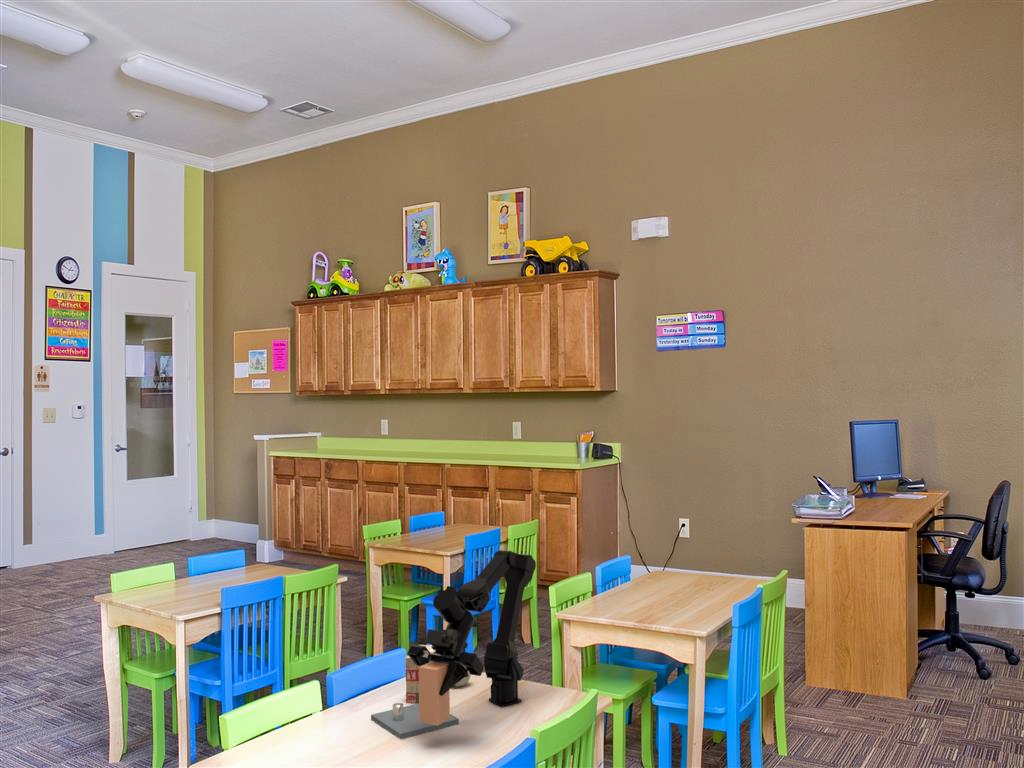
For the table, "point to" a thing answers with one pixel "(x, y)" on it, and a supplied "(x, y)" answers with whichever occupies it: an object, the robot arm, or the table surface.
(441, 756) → the table surface
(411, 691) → the stack of blocks
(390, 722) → the slate board
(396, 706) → the steel post
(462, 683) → the baseball
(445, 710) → the tall peach square pillar
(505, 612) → the robot arm
